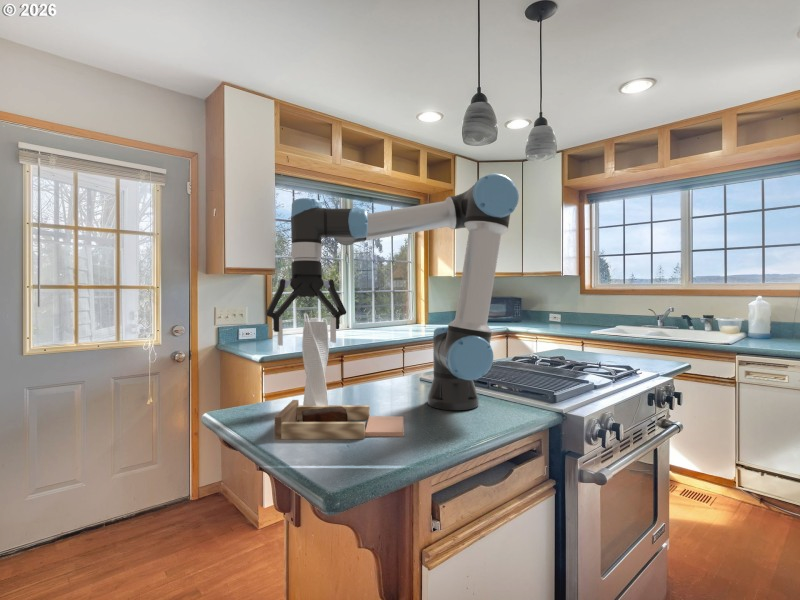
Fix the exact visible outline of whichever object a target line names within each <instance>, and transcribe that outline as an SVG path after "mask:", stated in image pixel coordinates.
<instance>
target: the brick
mask: <svg viewBox="0 0 800 600" xmlns="http://www.w3.org/2000/svg"><path fill="white" fill-rule="evenodd" d="M301 421H302V422H349V420H348V418H347V411H346V409H345V408H343V407H342V406H337V407H329V408H321V409H308V410H304V411H302V420H301Z"/></svg>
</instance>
